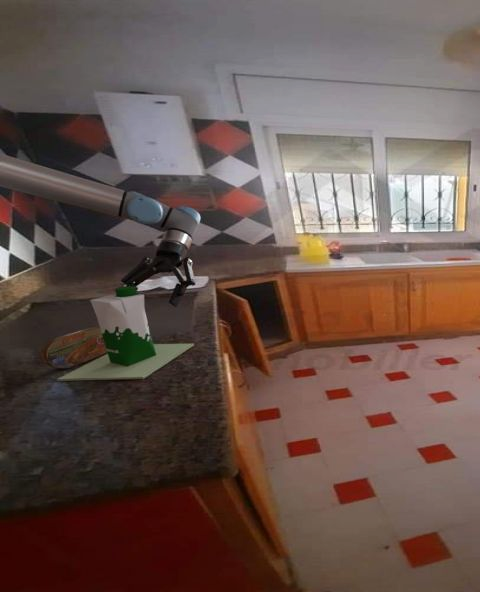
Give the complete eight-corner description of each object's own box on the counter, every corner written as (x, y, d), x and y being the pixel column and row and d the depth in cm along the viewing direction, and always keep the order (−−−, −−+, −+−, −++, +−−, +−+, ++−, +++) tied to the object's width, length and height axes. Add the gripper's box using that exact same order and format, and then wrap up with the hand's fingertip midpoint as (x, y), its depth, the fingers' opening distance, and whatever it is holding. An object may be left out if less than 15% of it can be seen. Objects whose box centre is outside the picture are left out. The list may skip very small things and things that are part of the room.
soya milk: (162, 354, 91) (146, 287, 85) (125, 368, 82) (105, 295, 77) (141, 349, 93) (124, 284, 88) (103, 363, 85) (82, 292, 79)
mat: (57, 381, 77) (57, 378, 77) (126, 346, 97) (125, 344, 96) (143, 379, 79) (143, 376, 79) (194, 345, 98) (194, 343, 98)
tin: (53, 374, 80) (42, 344, 78) (43, 373, 81) (33, 343, 79) (118, 349, 95) (110, 323, 92) (109, 348, 95) (102, 322, 93)
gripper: (219, 254, 107) (200, 309, 97) (142, 254, 106) (114, 310, 96) (207, 240, 101) (185, 298, 91) (125, 239, 99) (93, 298, 89)
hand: (148, 304), depth 93 cm, fingers open, 13 cm apart
